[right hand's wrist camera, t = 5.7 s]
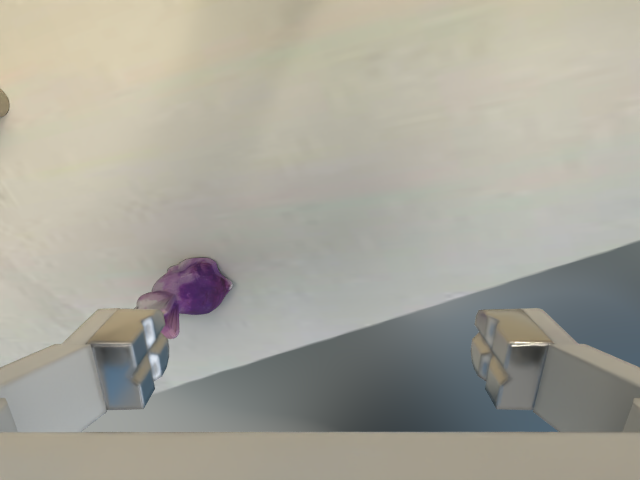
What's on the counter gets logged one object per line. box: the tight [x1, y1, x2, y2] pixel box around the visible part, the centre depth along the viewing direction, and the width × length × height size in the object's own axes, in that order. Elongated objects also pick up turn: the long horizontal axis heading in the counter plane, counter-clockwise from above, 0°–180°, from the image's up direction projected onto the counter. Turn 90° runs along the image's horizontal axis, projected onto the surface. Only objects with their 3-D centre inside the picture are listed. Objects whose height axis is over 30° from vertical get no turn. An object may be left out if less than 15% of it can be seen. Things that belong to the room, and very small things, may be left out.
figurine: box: [134, 258, 233, 339], centre depth 56 cm, size 9×10×15 cm
